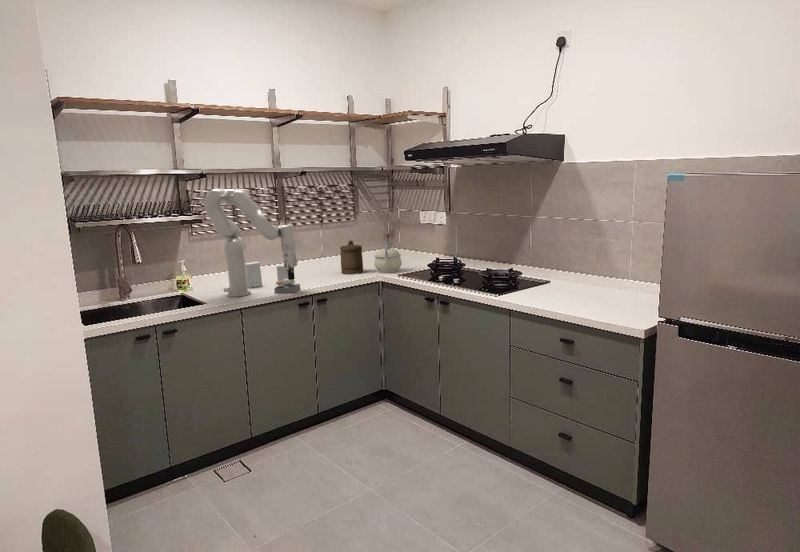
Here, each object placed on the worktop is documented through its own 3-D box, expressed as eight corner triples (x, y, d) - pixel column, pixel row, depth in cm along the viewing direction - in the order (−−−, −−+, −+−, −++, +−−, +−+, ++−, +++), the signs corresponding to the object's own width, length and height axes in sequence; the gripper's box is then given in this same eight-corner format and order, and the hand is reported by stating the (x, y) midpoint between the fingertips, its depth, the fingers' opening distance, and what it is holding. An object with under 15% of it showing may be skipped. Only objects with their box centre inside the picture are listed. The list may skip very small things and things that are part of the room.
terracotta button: (275, 284, 292) (274, 282, 292) (277, 283, 296) (277, 280, 296) (282, 284, 292) (281, 281, 292) (284, 283, 296) (284, 280, 296)
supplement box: (289, 286, 313) (287, 265, 311) (278, 287, 314) (276, 266, 312) (294, 284, 320) (292, 264, 318) (283, 284, 321) (281, 264, 319)
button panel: (274, 293, 293) (274, 287, 292) (281, 289, 304) (281, 283, 304) (293, 293, 291) (293, 287, 291) (300, 288, 303) (299, 283, 303)
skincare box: (260, 285, 324) (257, 261, 321) (262, 286, 319) (260, 262, 316) (246, 287, 320) (244, 263, 317) (248, 288, 315) (246, 263, 312)
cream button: (282, 282, 299) (282, 279, 299) (285, 281, 303) (284, 278, 303) (289, 282, 299) (289, 279, 298) (291, 281, 302) (291, 278, 302)
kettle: (376, 269, 364) (374, 233, 360) (402, 268, 363) (400, 232, 359) (373, 275, 340) (370, 237, 336) (401, 274, 339) (399, 235, 335)
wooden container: (365, 270, 363) (363, 239, 359) (360, 274, 348) (358, 241, 345) (344, 271, 365) (342, 239, 361) (339, 274, 350) (336, 242, 347)
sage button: (286, 284, 294) (286, 281, 293) (289, 282, 298) (288, 279, 297) (293, 283, 293) (293, 280, 293) (295, 282, 297) (295, 279, 297)
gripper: (290, 248, 284) (293, 281, 287) (298, 245, 299) (301, 276, 302) (277, 249, 285) (280, 282, 288) (286, 246, 300) (289, 277, 303)
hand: (291, 279), depth 295 cm, fingers closed
